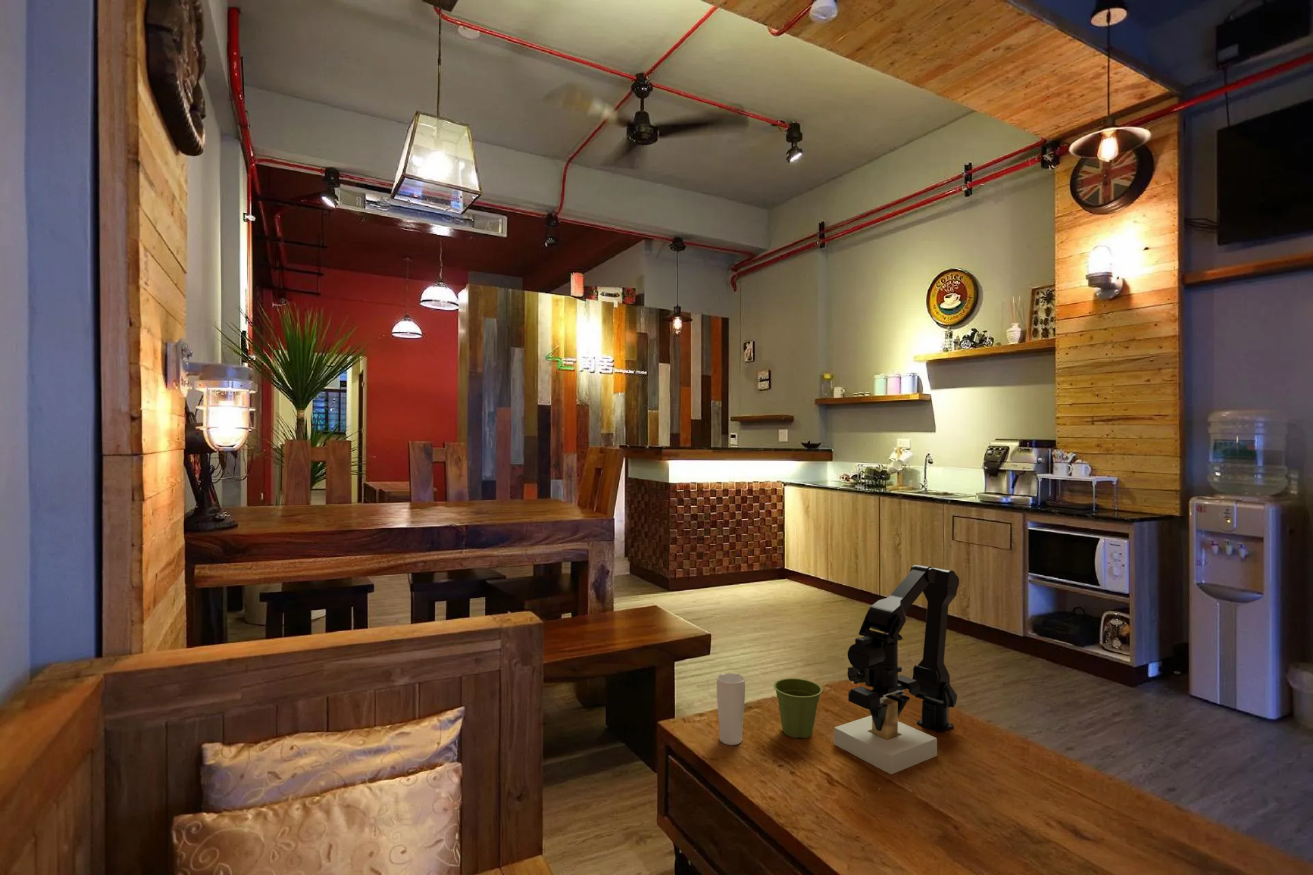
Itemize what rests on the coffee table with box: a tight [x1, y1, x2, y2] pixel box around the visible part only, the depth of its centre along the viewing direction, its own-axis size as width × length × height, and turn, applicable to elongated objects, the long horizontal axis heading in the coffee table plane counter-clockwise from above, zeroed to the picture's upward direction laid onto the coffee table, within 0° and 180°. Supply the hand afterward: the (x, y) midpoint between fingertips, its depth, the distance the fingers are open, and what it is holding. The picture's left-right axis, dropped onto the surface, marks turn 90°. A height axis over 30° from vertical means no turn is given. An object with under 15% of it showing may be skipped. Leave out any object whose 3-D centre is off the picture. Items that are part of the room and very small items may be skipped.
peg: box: [872, 696, 899, 740], centre depth 146 cm, size 4×4×9 cm
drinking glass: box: [716, 672, 746, 746], centre depth 150 cm, size 7×7×15 cm
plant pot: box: [773, 677, 823, 739], centre depth 155 cm, size 12×12×11 cm
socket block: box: [833, 715, 938, 775], centre depth 146 cm, size 16×16×4 cm
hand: (884, 728), depth 146 cm, fingers closed on peg, 4 cm apart
